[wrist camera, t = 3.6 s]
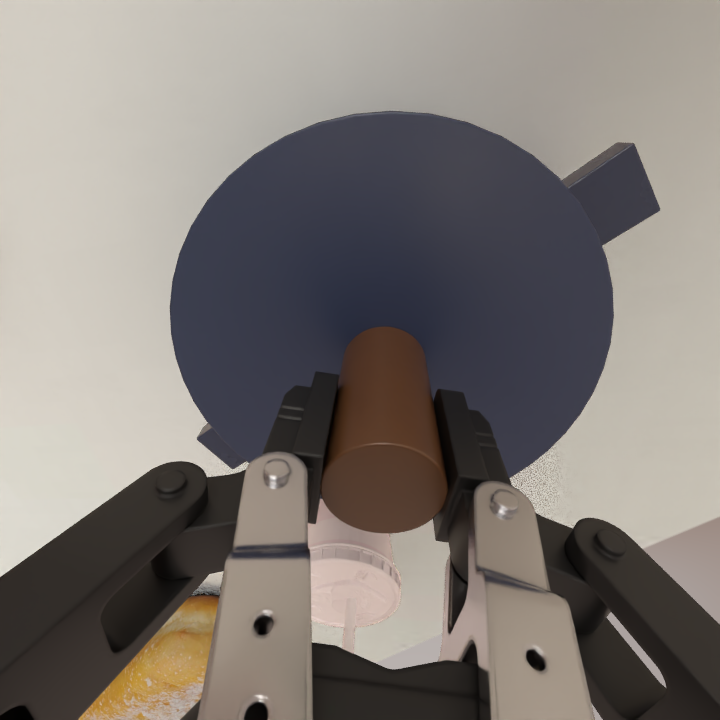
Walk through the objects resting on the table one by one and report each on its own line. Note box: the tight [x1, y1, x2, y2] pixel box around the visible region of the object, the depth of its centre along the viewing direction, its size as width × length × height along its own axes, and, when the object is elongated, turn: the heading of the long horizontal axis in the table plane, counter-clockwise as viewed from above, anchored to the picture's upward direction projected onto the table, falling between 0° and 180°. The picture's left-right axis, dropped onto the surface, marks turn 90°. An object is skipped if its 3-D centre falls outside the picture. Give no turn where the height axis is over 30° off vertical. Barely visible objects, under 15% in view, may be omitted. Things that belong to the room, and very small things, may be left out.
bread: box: [78, 595, 219, 720], centre depth 41 cm, size 13×26×8 cm, turn 139°
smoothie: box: [308, 499, 401, 654], centre depth 23 cm, size 6×6×14 cm
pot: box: [197, 142, 660, 469], centre depth 19 cm, size 15×20×8 cm
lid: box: [170, 111, 614, 533], centre depth 12 cm, size 16×16×7 cm
